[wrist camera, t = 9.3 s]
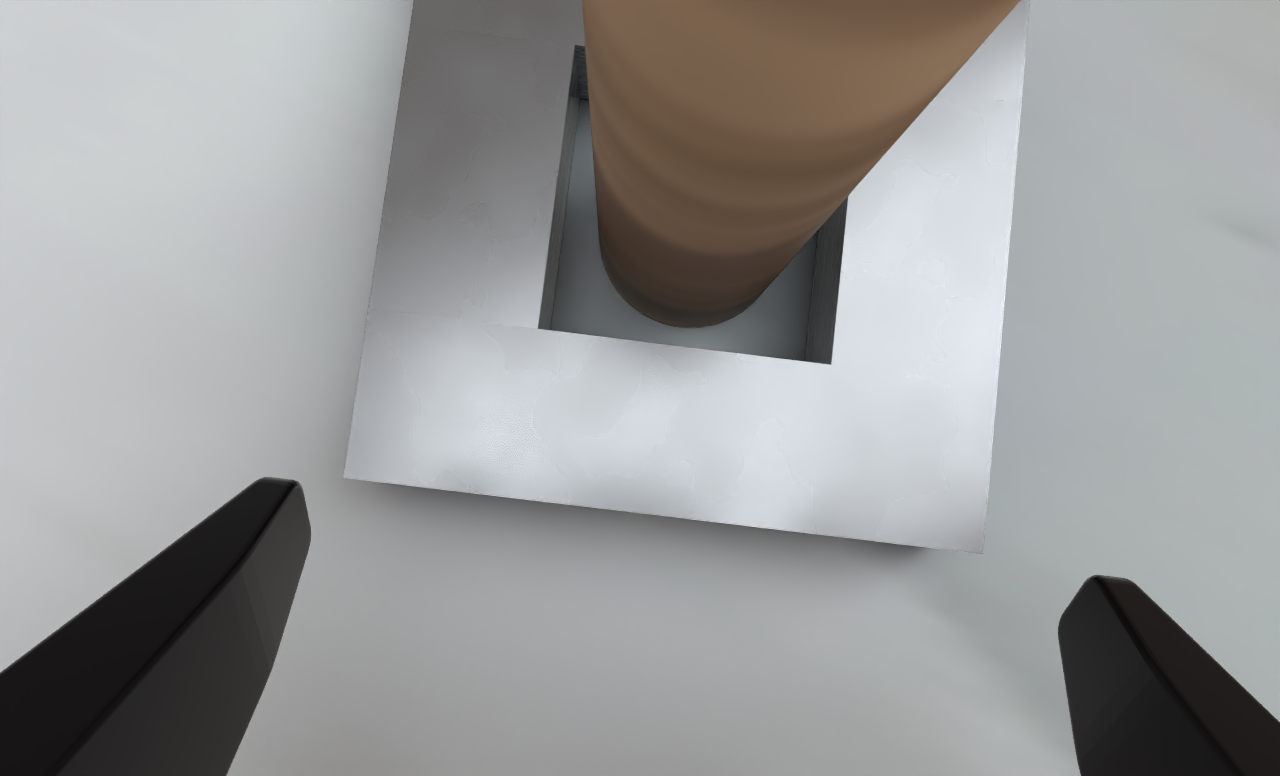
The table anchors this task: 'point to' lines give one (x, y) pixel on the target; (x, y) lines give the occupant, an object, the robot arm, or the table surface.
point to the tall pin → (749, 130)
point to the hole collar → (674, 375)
